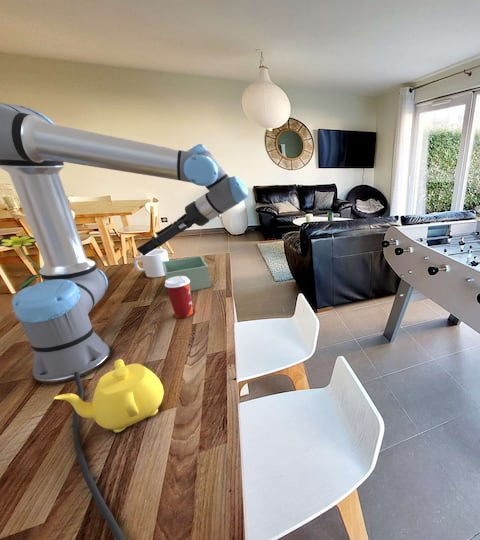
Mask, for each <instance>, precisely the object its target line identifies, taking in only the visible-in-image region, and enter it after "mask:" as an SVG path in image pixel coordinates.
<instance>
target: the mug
mask: <svg viewBox="0 0 480 540" xmlns="http://www.w3.org/2000/svg"><path fill="white" fill-rule="evenodd" d="M140 259H141V262H142V266H143V267H142V268H141V267H140V265H139V262H138V260H140ZM169 260H170V259H169V255H168V250H167V249H166V248H155V249H154V250H152V251H151V252H149V253H147V254H146V255H143V254H141V253H140V254H139V255H136V256H135V258H134V261H133V263H134V267H135V269H136V270H137V272H144V273H145V276H146V277H148V278H160V277H165V272H164V268H163V264H162V261H169Z"/></svg>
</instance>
